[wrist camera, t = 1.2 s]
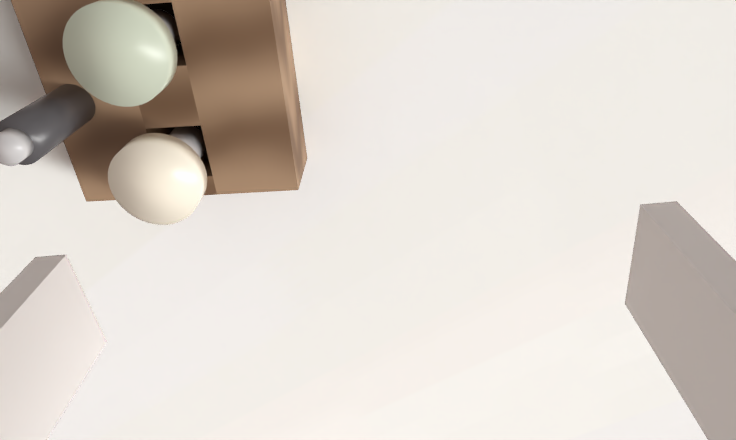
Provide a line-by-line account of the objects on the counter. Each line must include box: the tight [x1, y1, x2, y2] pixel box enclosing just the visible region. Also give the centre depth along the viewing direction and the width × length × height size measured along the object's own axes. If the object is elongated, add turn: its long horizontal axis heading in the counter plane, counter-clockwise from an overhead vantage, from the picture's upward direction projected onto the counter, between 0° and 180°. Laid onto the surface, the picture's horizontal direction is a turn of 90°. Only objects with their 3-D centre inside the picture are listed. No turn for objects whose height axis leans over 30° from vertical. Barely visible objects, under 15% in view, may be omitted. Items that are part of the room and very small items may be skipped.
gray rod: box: [0, 84, 95, 166], centre depth 29 cm, size 2×2×7 cm
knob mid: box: [63, 0, 180, 107], centre depth 29 cm, size 5×5×6 cm
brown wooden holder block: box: [11, 0, 307, 201], centre depth 33 cm, size 20×14×5 cm
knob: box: [108, 126, 207, 225], centre depth 33 cm, size 5×5×6 cm
